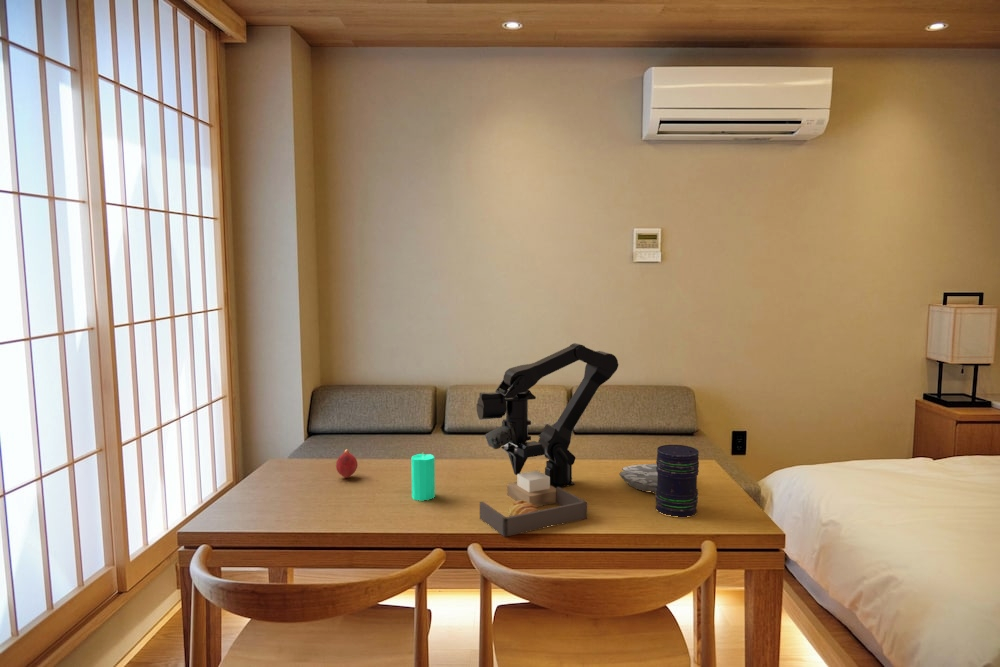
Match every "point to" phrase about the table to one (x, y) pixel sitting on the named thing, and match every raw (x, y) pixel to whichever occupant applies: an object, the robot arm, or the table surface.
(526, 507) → the pastry
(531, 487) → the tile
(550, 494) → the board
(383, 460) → the table surface
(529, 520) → the frame
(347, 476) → the onion
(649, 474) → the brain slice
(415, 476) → the candle
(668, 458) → the storage jar
